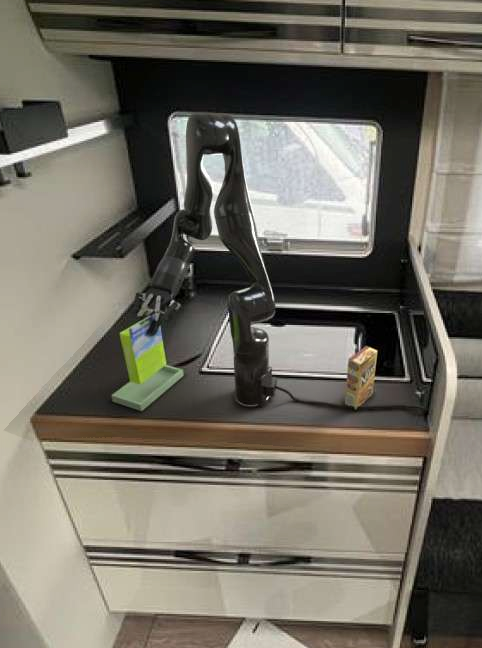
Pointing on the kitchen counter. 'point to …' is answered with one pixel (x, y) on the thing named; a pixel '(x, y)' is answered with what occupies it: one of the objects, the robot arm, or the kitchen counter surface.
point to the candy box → (360, 377)
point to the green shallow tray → (147, 388)
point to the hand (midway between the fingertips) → (143, 333)
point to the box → (142, 350)
